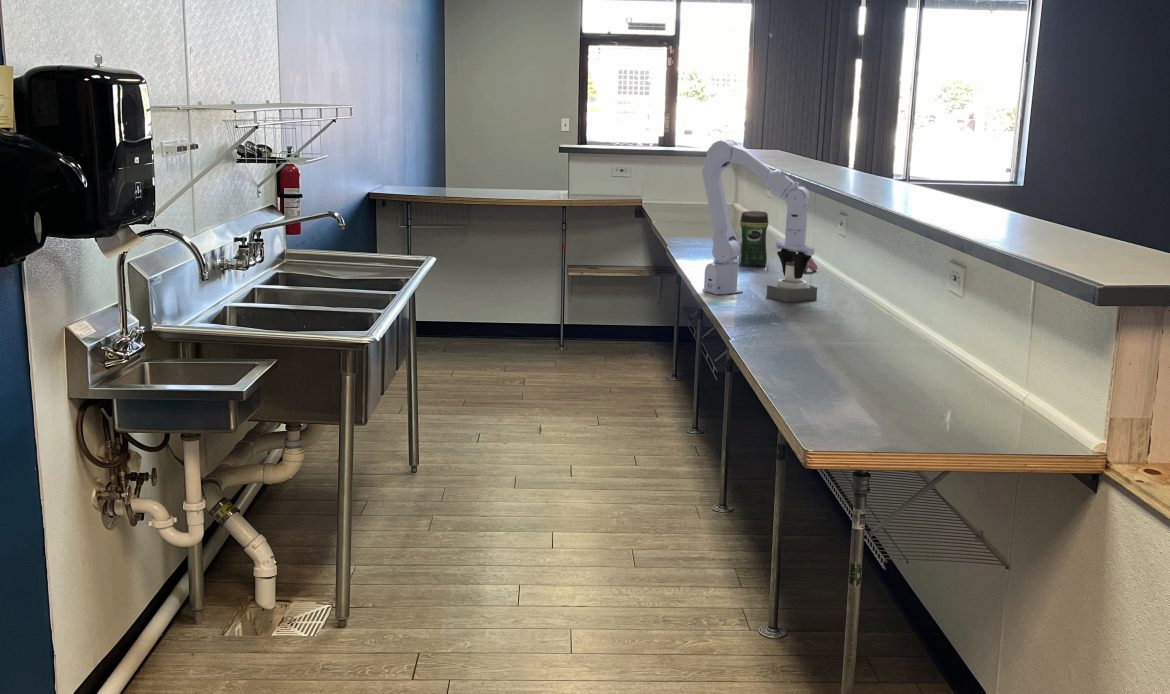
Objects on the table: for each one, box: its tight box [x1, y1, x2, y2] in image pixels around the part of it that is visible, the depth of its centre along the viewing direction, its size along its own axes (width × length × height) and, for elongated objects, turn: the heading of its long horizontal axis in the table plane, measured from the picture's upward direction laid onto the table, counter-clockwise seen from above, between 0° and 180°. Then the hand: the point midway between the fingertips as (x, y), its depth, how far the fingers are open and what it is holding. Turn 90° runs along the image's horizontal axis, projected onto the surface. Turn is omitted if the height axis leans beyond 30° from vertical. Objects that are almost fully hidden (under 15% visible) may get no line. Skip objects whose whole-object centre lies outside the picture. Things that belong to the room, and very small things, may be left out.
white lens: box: [784, 261, 801, 283], centre depth 297 cm, size 4×4×6 cm
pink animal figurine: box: [804, 257, 818, 272], centre depth 345 cm, size 10×5×7 cm, turn 46°
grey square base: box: [766, 278, 818, 303], centre depth 298 cm, size 11×9×5 cm
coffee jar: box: [738, 210, 769, 268], centre depth 353 cm, size 10×8×19 cm
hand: (792, 276), depth 297 cm, fingers closed on white lens, 4 cm apart
